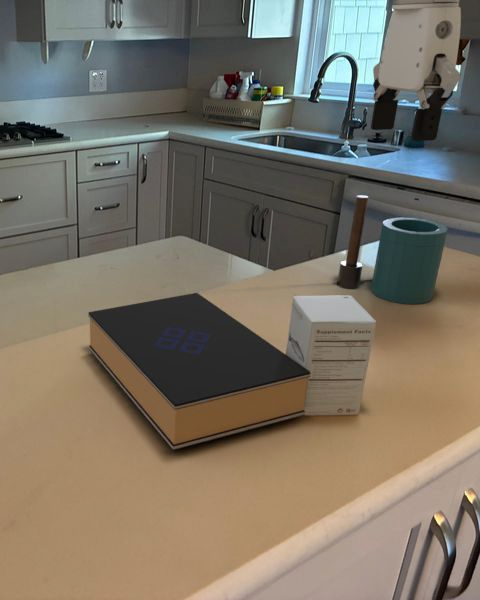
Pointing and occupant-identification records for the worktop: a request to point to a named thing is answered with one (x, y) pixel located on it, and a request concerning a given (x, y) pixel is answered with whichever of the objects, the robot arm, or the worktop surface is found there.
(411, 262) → the teal pen holder
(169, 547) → the worktop surface
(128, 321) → the book
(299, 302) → the white packaging box
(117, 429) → the worktop surface
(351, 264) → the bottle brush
